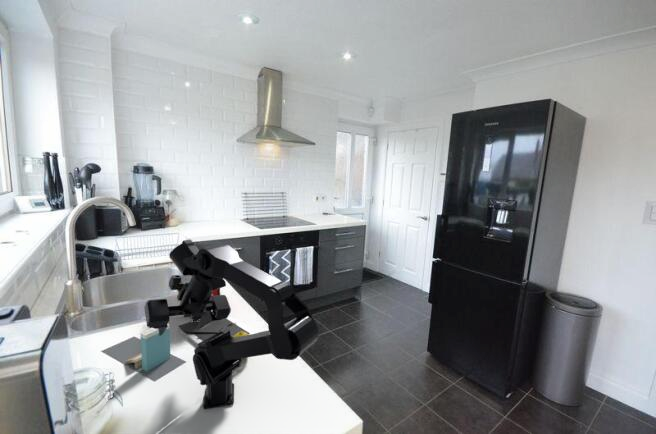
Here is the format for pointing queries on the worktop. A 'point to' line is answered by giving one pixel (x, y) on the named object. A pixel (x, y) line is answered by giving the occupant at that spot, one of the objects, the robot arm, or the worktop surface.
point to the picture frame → (212, 329)
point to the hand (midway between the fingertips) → (179, 331)
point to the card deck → (154, 347)
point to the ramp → (136, 361)
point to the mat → (133, 348)
